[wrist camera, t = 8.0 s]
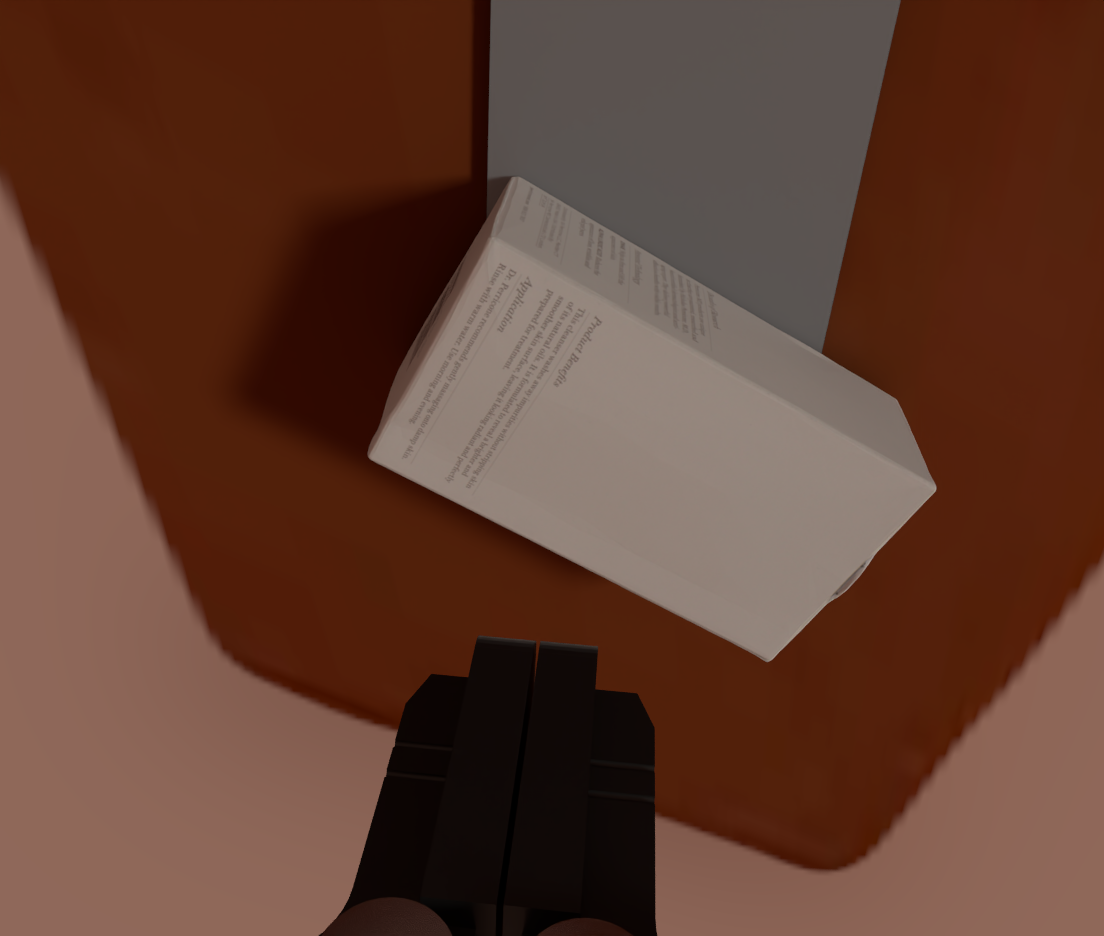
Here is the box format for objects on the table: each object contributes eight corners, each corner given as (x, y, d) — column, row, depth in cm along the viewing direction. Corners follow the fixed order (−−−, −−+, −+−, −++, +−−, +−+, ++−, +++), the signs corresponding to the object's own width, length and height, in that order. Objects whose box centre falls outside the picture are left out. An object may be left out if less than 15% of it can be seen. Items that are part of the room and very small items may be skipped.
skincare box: (394, 367, 33) (747, 560, 37) (354, 464, 28) (767, 676, 32) (518, 155, 29) (902, 396, 32) (497, 224, 24) (954, 499, 27)
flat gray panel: (915, -88, 25) (919, -87, 25) (798, 440, 34) (800, 447, 33) (495, -116, 26) (493, -116, 25) (484, 414, 34) (482, 421, 34)
